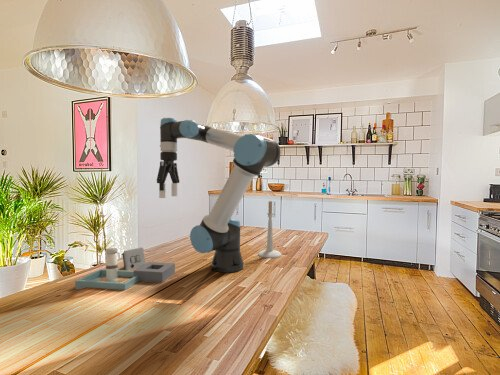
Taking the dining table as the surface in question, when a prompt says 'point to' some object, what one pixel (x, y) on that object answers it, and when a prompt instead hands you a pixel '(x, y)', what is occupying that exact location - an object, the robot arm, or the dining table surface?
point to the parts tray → (93, 282)
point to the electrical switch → (133, 258)
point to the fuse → (111, 264)
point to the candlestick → (269, 239)
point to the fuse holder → (155, 272)
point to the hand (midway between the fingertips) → (168, 197)
